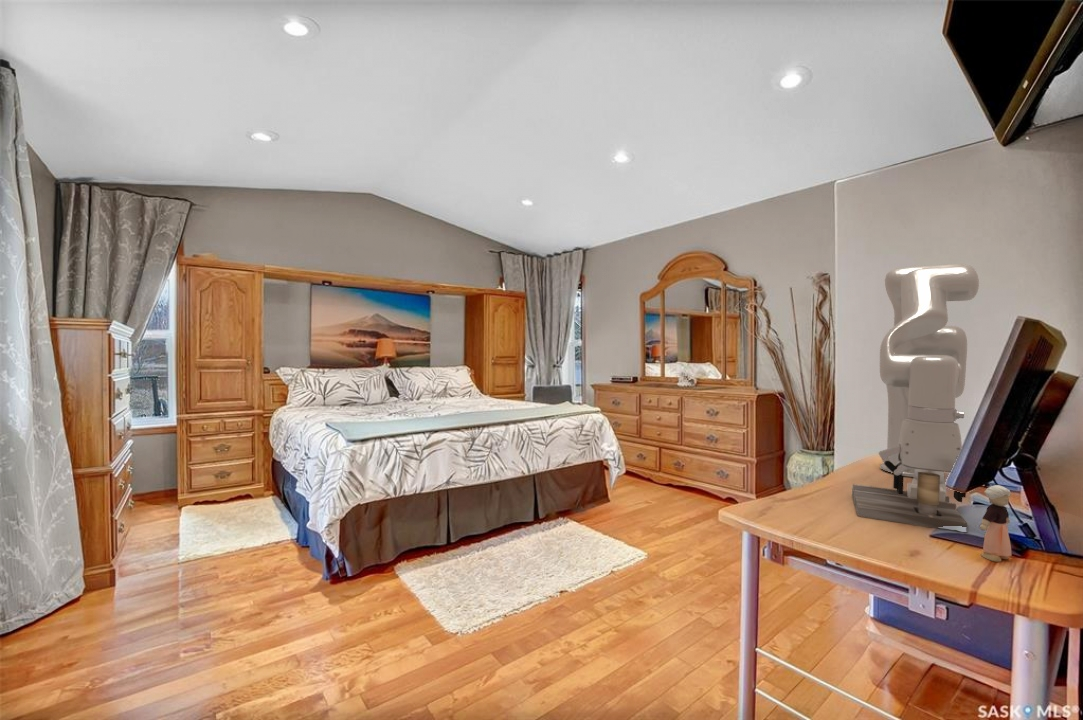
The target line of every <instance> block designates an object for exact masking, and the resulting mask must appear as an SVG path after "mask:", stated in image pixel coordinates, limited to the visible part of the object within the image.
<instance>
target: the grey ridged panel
mask: <svg viewBox="0 0 1083 720" xmlns="http://www.w3.org/2000/svg"><path fill="white" fill-rule="evenodd" d="M851 497H852V500H854V501H853V505H854V506H855V510H856V511H855V512H856V514H857V515H856V516H857V517H860V518H861V517H862V518H868V519H872V520H873V519H875V520H879V521H887V522H894V523H899V524H900V523H901V524H906V525H914V526H920V527H926V528H933V529H938V527H943V526H962V527H967V528H968V522H967V521H966V520H965V519H964V518H963V516H962V515H961V514H960V513H959V512H958V511H957V509H956V508H957V505H956V503H954V502H950V496H949V495H948V496H947V495H946V496H945V502H940V501H939V505H937V516H934V515H927V514H920V513H918V506H919V502H918V501H917V498H910V497H908V496H907V490H903V494H898V492H897V489H894V488H886V487H878V486H872V485H871V486H869V485H862V484H854V483H853V484H852V488H851Z"/></svg>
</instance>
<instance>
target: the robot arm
mask: <svg viewBox="0 0 1083 720" xmlns="http://www.w3.org/2000/svg"><path fill="white" fill-rule="evenodd" d="M979 280H980V279H979V276H978V273H977V270H976V269H975V268H974V267H973V266H972V265H969V264H966V263H950V264H949V263H947V264H933V265H932V264H931V265H915V266H913V265H912V266H905V267H899V268H893V269H891V270H889V271H888V272H887V273H886V275H885V279H884V283H885V284H884V286H885V290H886V293H887V296H888V298H889V300H890V303H891V305H892V308H893V312H894V317H893V319H894V321H893V322H894V323H893V327H892V328H891V329H889V331H888V332H887V333H886V334H885V336H884V337H883V339H882V341H881V344H880V348H879V374H880V375H879V376H880V379H881V381H882V383H883V384H885V385H886V391H887V402H888V403H887V404H888V405H887V406H888V407H887V409H888V411H887V443H886V444H887V447H886V449H883V450H880V451H879V452H878V455H879V457H880V459H881V460H882V462H883V463H881V464H879V465H880V466H879V469H880V468H881V469H883V470H885V471H888V472H891V473H890V474H892V473H894V474H893V481H892V483H893V484H892V487H893V488H892V489H895V490H897V492H898V494H903V491H904V477H910V478H914V472H915V469H923V470H932V471H942V472H944V473H952V472H951V470H952V468H953V465H954V463H955V462H956V459H957V457H958V455H959V453H960V451H961V448H962V449H963V445H962V437H961V430H960V426H959V423H957V422H956V420H957V419H958V420H959V419H964V418H965V412H964V411H959V410H957V409H956V399H958V398H960V397H961V396H962V395H963V393H964V390H965V385H966V384H965V383H966V374H967V373H966V371H967V357H968V356H967V355H968V338H967V335H966V332H965V331H964V329H963V328H961V327H959V326H956V325H955V326H953V325H947V323H948V322H949V315H948V308H947V302H965V301H966V302H967V301H971V300H972V299H974V298H975V297H976V295H977V293H978V292H979V286H980V285H979V284H980V281H979ZM881 469H880V470H881ZM883 470H882V471H883ZM885 471H884V472H885ZM888 472H887V473H888ZM966 494H967V492H966V493H960V492H957V491H954V490H953V499H954V500H955V501H957V503H958V502H959V503H962V502H963V498H966Z"/></svg>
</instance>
